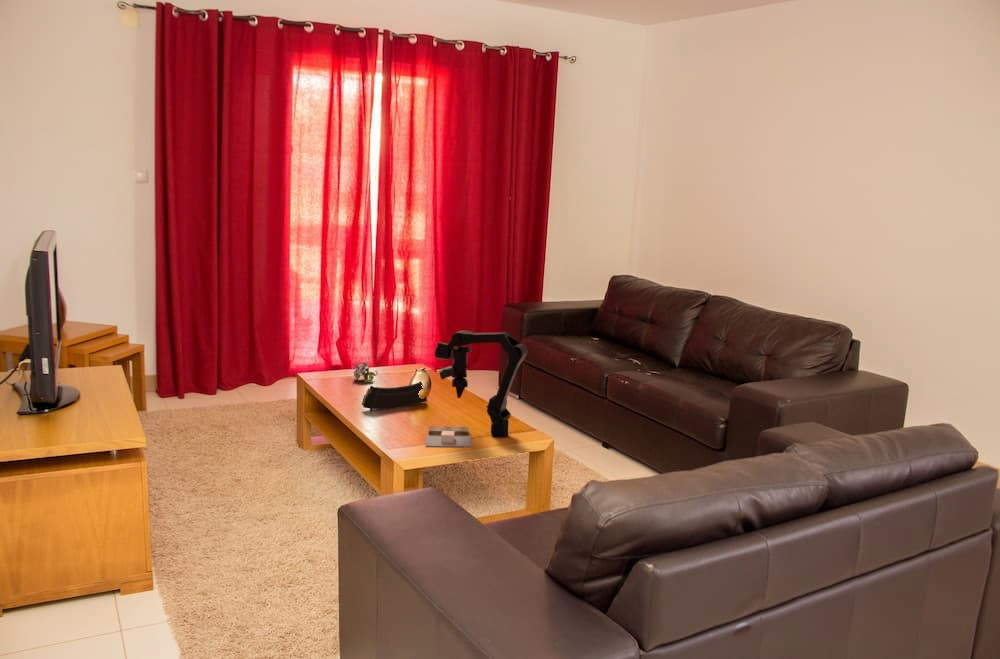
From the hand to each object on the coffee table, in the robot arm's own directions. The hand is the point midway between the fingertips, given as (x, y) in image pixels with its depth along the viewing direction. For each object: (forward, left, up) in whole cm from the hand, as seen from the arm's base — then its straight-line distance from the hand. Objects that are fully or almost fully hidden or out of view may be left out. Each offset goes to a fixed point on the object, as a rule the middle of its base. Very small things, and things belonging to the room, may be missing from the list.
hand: (458, 397), depth 338 cm
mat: (+4, +17, -13) cm, 21 cm away
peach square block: (+4, +17, -12) cm, 21 cm away
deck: (+4, +7, -13) cm, 15 cm away
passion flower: (+45, -70, -13) cm, 84 cm away
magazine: (+28, -27, -13) cm, 41 cm away
